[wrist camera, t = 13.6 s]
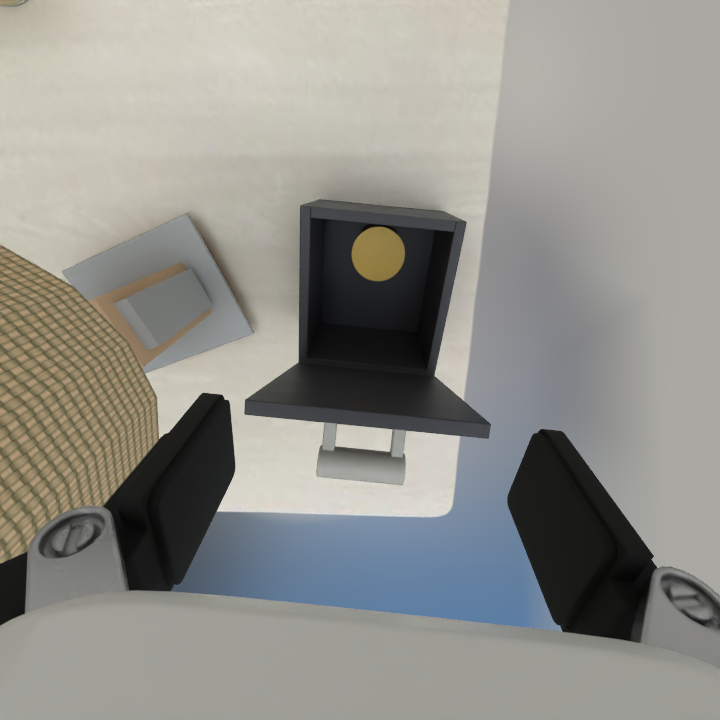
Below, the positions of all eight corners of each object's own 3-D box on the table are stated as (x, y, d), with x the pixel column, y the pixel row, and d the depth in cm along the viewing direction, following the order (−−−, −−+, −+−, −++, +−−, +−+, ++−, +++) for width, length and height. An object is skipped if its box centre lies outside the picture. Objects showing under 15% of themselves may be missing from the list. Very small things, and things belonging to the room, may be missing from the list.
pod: (404, 223, 35) (408, 229, 31) (398, 271, 37) (400, 283, 33) (356, 218, 35) (353, 224, 31) (353, 266, 37) (349, 278, 33)
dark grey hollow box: (319, 199, 35) (299, 205, 26) (444, 211, 35) (466, 221, 26) (315, 325, 41) (298, 364, 33) (422, 336, 41) (433, 378, 33)
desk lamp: (153, 389, 47) (-312, 822, 15) (46, 245, 39) (-1405, 531, 7) (284, 343, 43) (24, 799, 11) (195, 172, 35) (-1582, 94, 3)
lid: (244, 399, 18) (239, 488, 19) (491, 423, 18) (478, 512, 19) (297, 362, 32) (294, 413, 33) (435, 376, 32) (428, 426, 33)
